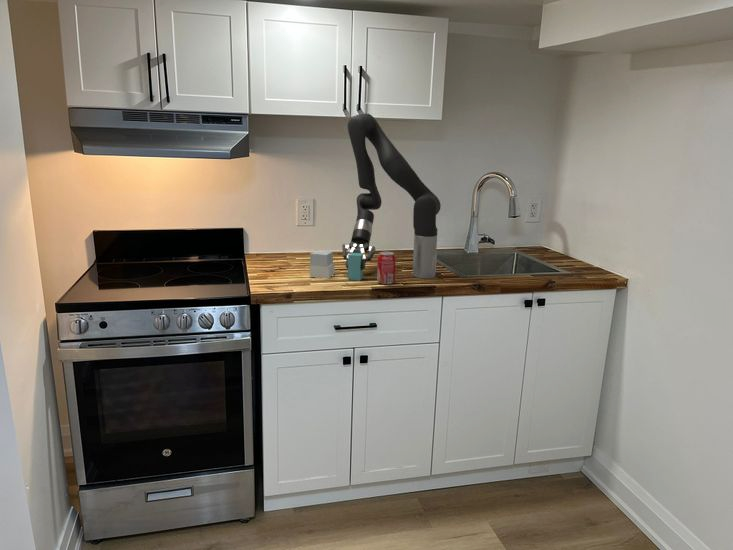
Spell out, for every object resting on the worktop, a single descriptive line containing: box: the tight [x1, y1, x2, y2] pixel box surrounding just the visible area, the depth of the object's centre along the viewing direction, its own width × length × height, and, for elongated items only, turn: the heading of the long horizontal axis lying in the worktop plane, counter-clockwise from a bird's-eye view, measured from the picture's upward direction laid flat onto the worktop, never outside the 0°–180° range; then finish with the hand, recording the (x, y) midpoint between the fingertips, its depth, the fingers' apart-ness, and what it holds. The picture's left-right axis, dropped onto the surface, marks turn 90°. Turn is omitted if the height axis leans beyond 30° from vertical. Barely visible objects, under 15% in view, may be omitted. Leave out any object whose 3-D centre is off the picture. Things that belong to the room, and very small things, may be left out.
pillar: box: [347, 253, 364, 281], centre depth 218 cm, size 5×5×10 cm
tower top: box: [309, 249, 334, 267], centre depth 221 cm, size 7×7×5 cm
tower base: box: [309, 262, 336, 280], centre depth 222 cm, size 8×8×5 cm
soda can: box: [376, 251, 397, 285], centre depth 213 cm, size 7×7×12 cm
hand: (354, 268), depth 217 cm, fingers closed on pillar, 5 cm apart
